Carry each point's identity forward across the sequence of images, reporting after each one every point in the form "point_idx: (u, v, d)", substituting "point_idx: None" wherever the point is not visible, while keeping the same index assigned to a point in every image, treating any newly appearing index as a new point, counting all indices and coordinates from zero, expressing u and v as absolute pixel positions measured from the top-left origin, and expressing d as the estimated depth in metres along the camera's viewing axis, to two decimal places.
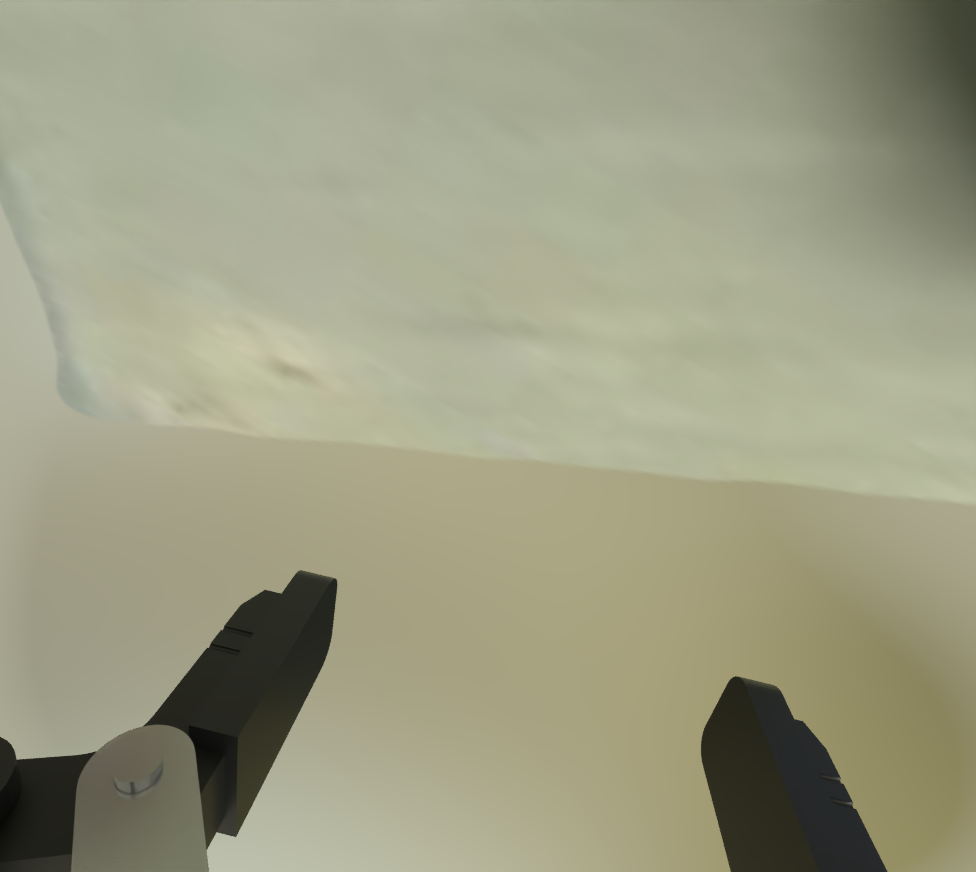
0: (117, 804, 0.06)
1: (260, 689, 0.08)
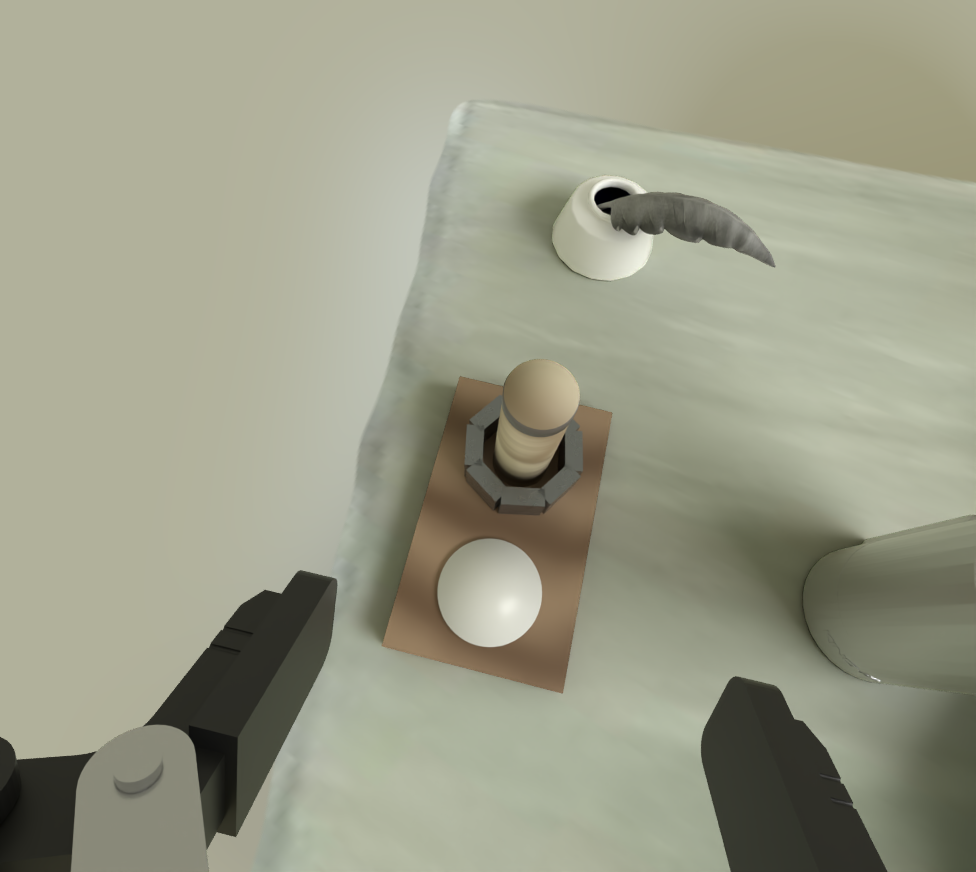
0: (117, 804, 0.06)
1: (260, 689, 0.08)
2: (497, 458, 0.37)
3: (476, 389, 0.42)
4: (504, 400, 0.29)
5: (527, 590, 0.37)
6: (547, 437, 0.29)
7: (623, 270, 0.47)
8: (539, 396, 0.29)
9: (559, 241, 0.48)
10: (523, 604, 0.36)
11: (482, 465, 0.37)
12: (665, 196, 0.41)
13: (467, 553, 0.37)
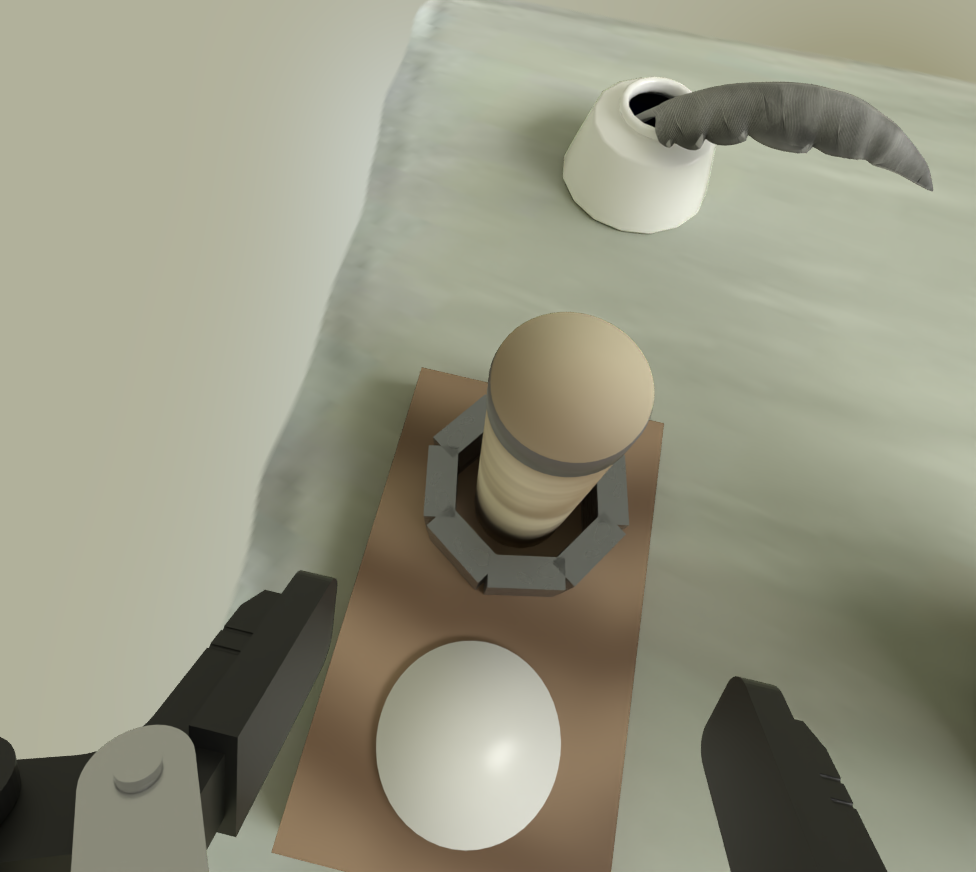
0: (117, 804, 0.06)
1: (260, 689, 0.08)
2: (481, 504, 0.21)
3: (448, 387, 0.26)
4: (492, 398, 0.13)
5: (535, 737, 0.21)
6: (583, 477, 0.14)
7: (669, 217, 0.32)
8: (568, 389, 0.13)
9: (574, 176, 0.33)
10: (528, 763, 0.21)
11: (454, 517, 0.21)
12: (748, 84, 0.26)
13: (430, 669, 0.22)
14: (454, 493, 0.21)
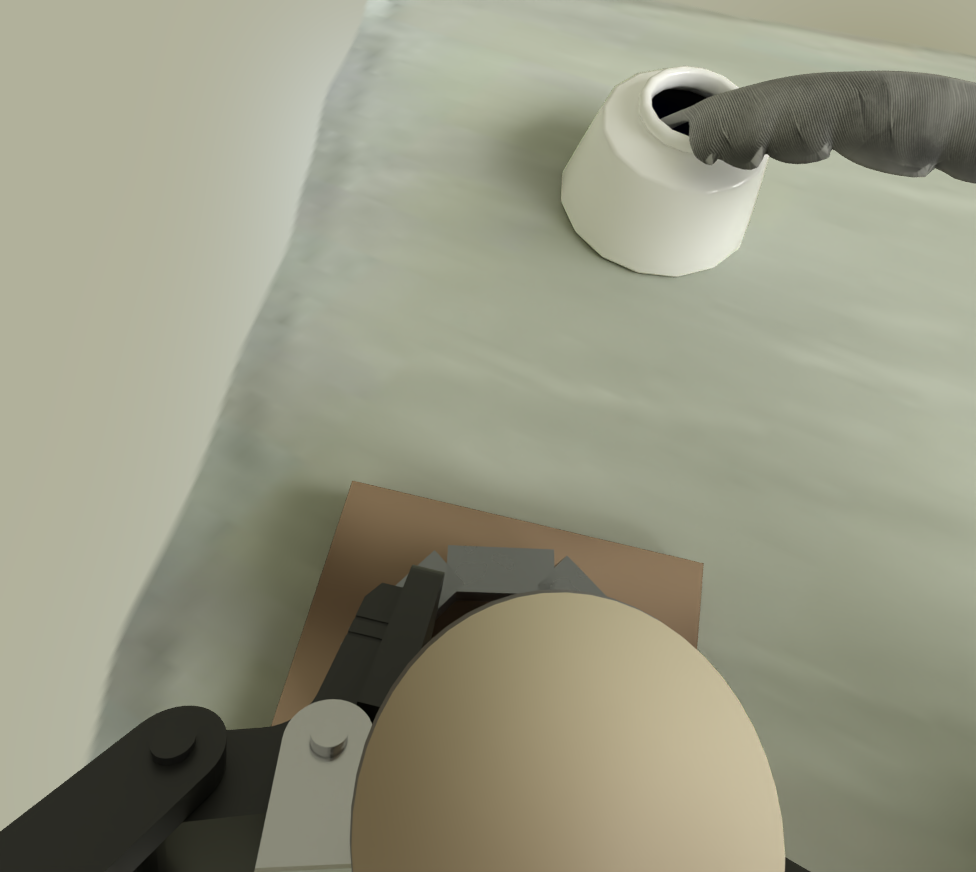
0: (320, 767, 0.07)
1: None
2: None
3: (389, 512, 0.18)
4: None
5: None
6: None
7: (703, 255, 0.24)
8: (558, 843, 0.05)
9: (576, 199, 0.25)
10: None
11: None
12: (832, 75, 0.18)
13: None
14: None
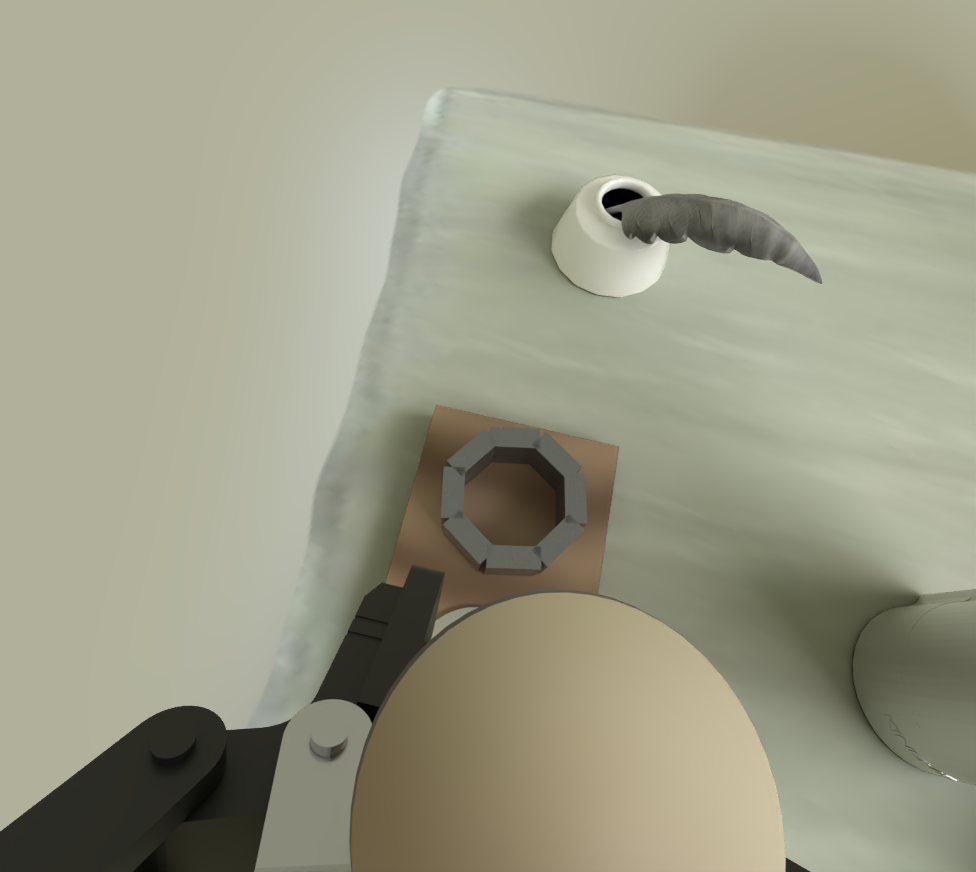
0: (320, 768, 0.07)
1: None
2: None
3: (456, 420, 0.35)
4: None
5: None
6: None
7: (634, 285, 0.41)
8: (558, 844, 0.05)
9: (560, 251, 0.41)
10: None
11: (462, 518, 0.30)
12: (688, 198, 0.34)
13: None
14: (462, 501, 0.30)
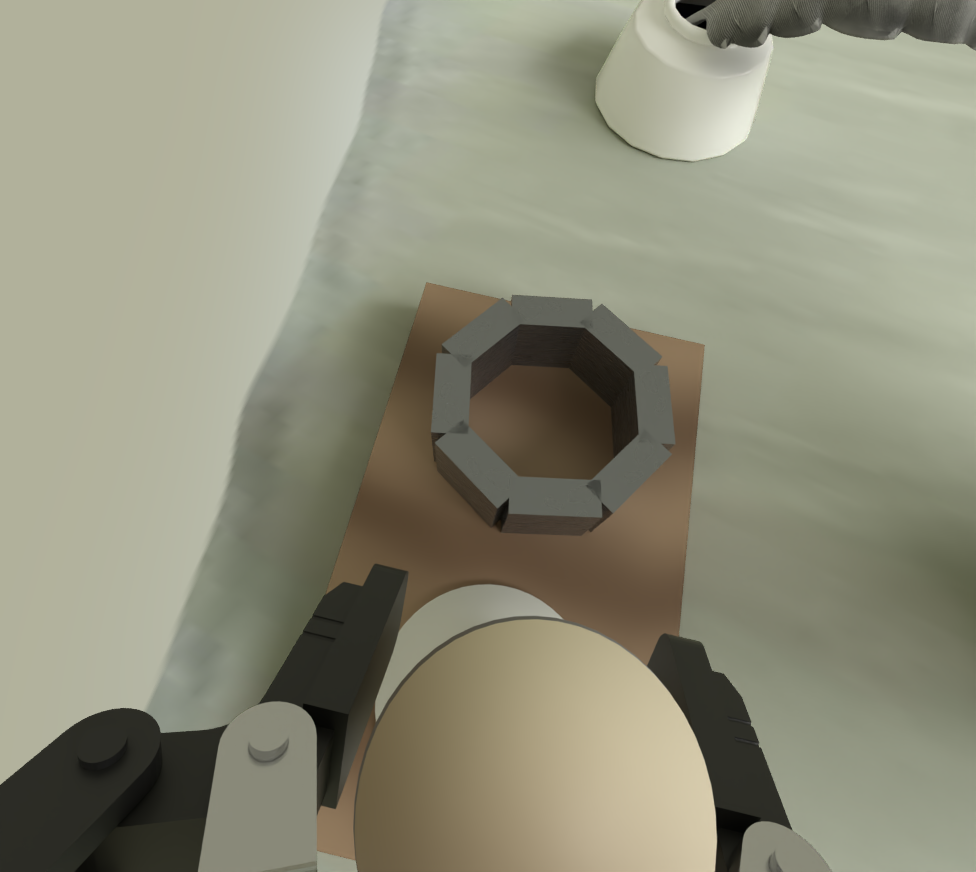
0: (256, 772, 0.07)
1: (360, 671, 0.09)
2: None
3: (456, 304, 0.23)
4: (357, 855, 0.06)
5: None
6: None
7: (716, 141, 0.29)
8: (526, 832, 0.06)
9: (609, 96, 0.29)
10: None
11: (468, 434, 0.18)
12: None
13: (439, 616, 0.18)
14: (467, 407, 0.18)
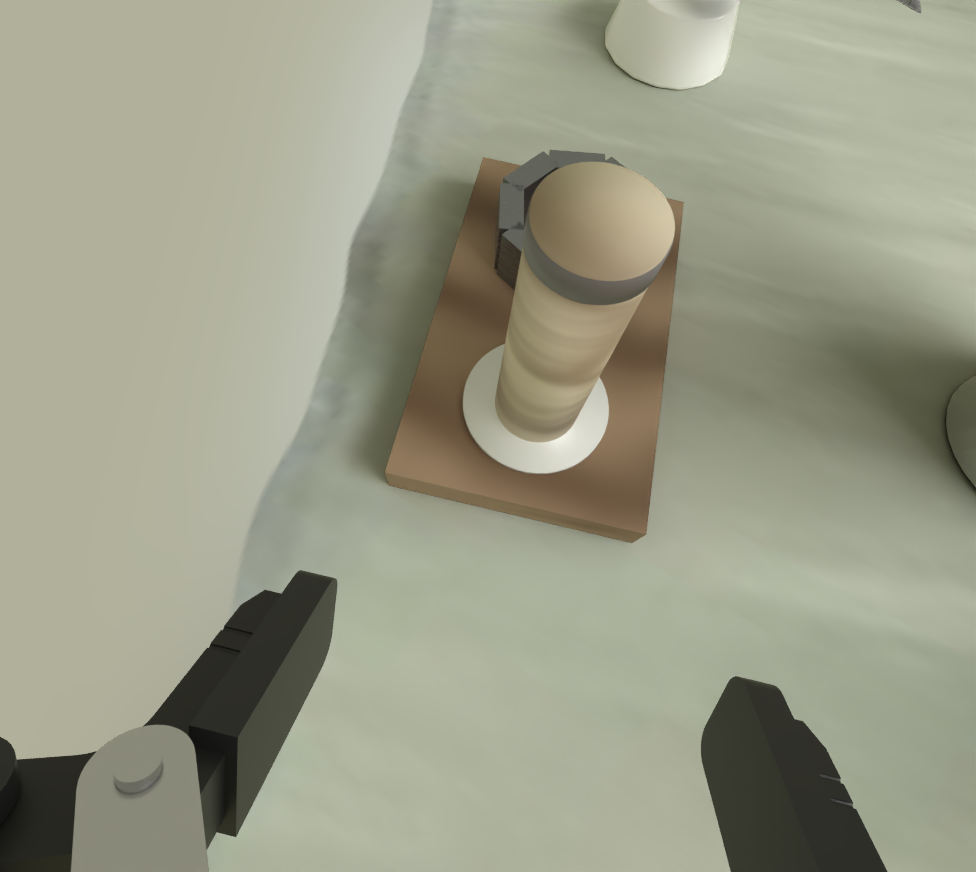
0: (116, 804, 0.06)
1: (260, 689, 0.08)
2: (504, 389, 0.23)
3: (505, 172, 0.32)
4: (531, 228, 0.15)
5: (588, 402, 0.26)
6: (610, 308, 0.16)
7: (698, 73, 0.38)
8: (598, 221, 0.15)
9: (616, 39, 0.38)
10: (584, 419, 0.26)
11: (523, 230, 0.26)
12: None
13: None
14: (522, 214, 0.27)
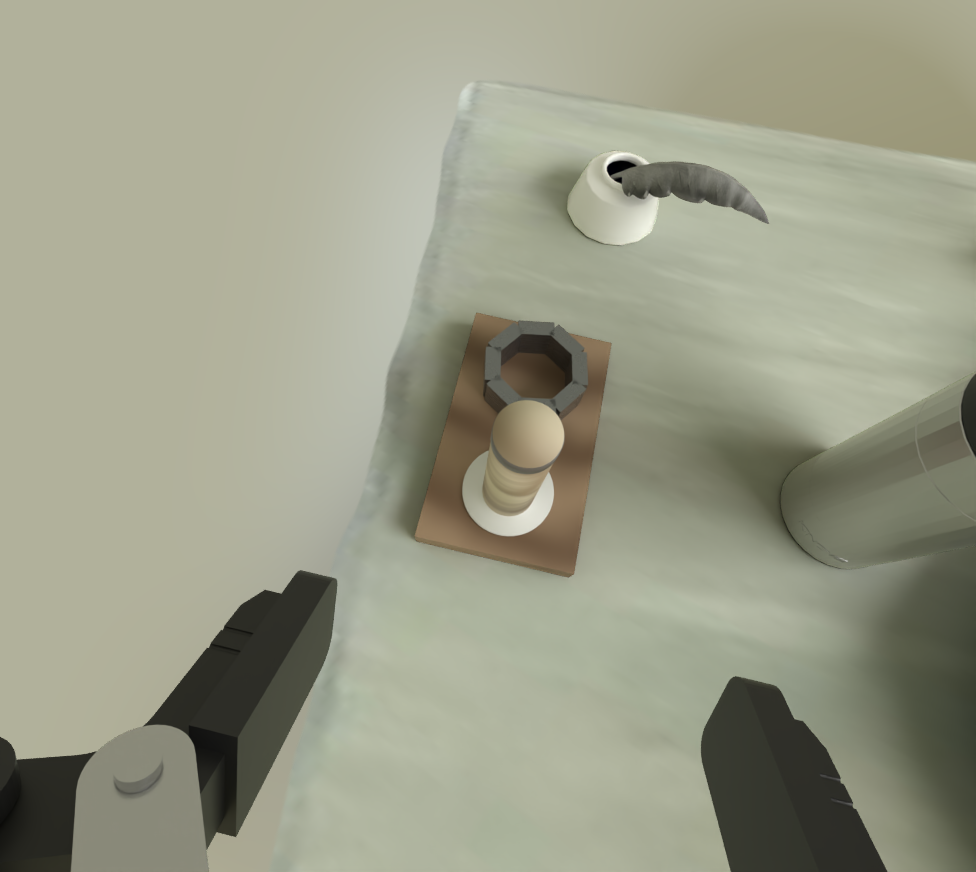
0: (117, 804, 0.06)
1: (260, 689, 0.08)
2: (486, 490, 0.38)
3: (491, 323, 0.47)
4: (493, 440, 0.30)
5: (541, 489, 0.42)
6: (534, 474, 0.31)
7: (632, 235, 0.53)
8: (526, 436, 0.30)
9: (574, 210, 0.53)
10: (538, 500, 0.41)
11: (500, 380, 0.42)
12: (671, 164, 0.46)
13: None
14: (499, 369, 0.42)
